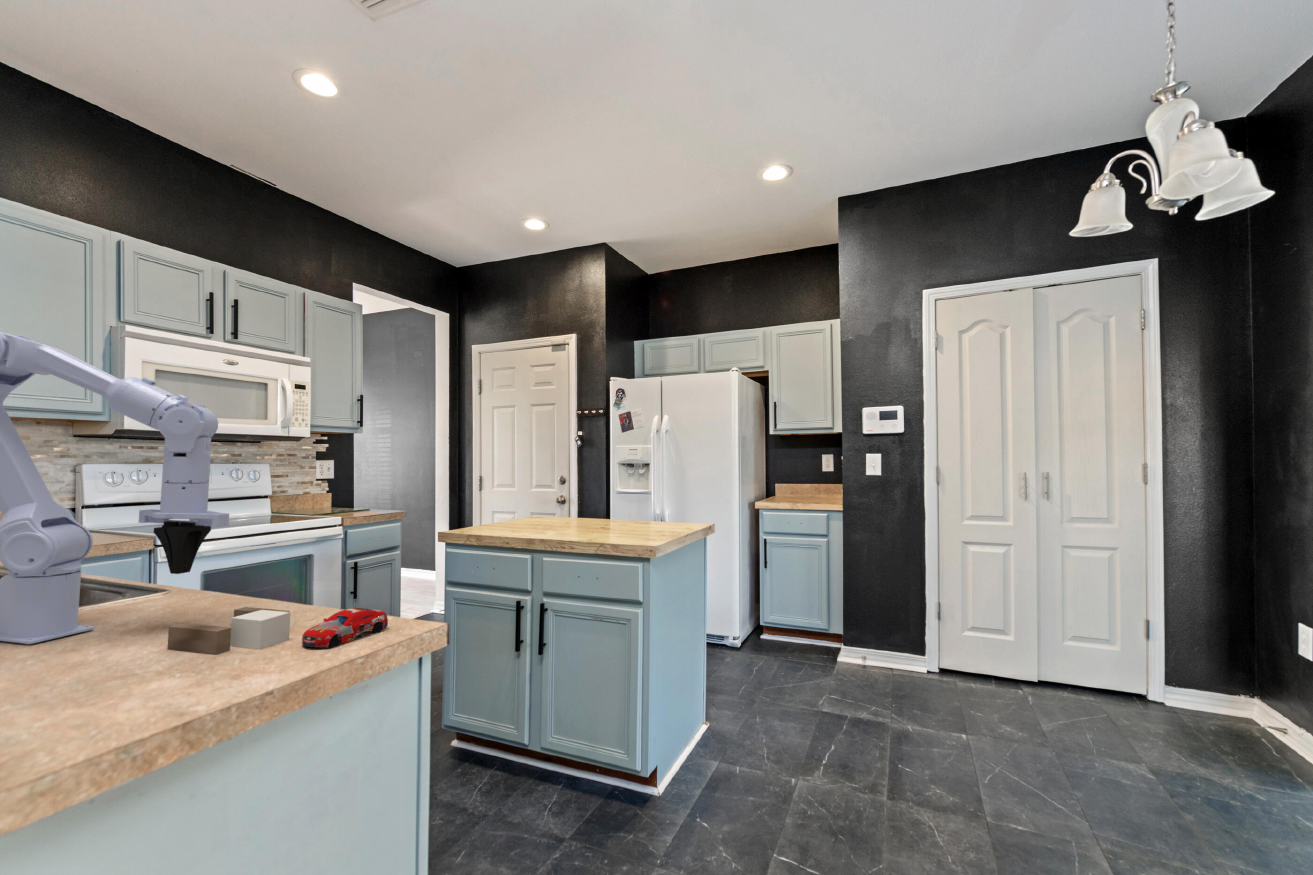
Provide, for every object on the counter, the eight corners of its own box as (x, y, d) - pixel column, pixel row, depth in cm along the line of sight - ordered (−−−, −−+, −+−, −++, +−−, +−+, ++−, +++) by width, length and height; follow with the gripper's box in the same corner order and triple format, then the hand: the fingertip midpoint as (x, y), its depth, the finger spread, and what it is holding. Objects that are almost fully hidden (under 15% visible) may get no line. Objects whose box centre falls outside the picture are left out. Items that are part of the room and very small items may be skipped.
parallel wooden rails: (167, 648, 82) (168, 626, 83) (244, 626, 94) (245, 606, 94) (216, 654, 81) (217, 631, 81) (288, 630, 92) (289, 610, 93)
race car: (320, 654, 83) (322, 624, 83) (292, 649, 85) (293, 620, 85) (394, 630, 95) (395, 604, 95) (367, 626, 97) (368, 600, 97)
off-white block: (229, 646, 85) (231, 617, 85) (260, 637, 89) (261, 609, 90) (259, 650, 83) (261, 620, 84) (289, 640, 88) (290, 612, 89)
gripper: (119, 481, 90) (113, 574, 90) (200, 484, 87) (194, 580, 87) (167, 480, 97) (161, 566, 97) (243, 483, 94) (238, 572, 94)
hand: (180, 572), depth 92 cm, fingers closed
